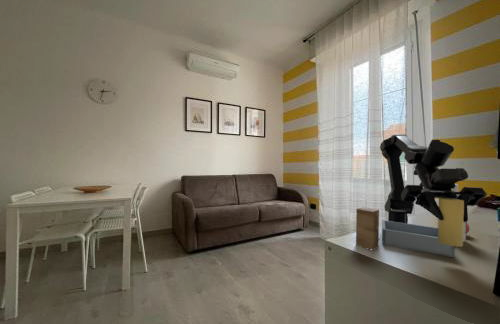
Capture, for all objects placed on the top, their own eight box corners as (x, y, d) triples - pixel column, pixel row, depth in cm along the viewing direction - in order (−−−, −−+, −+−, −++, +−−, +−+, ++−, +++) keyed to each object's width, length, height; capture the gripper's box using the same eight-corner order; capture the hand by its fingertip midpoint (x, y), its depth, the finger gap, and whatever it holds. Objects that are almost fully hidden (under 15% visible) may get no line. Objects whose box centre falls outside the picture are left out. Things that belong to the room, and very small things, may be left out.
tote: (382, 244, 69) (382, 229, 69) (381, 232, 81) (382, 220, 81) (454, 257, 60) (454, 240, 60) (442, 242, 72) (442, 228, 72)
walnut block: (362, 241, 71) (362, 206, 71) (378, 246, 68) (379, 209, 67) (355, 245, 68) (356, 208, 68) (372, 250, 64) (373, 211, 64)
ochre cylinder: (452, 247, 54) (453, 201, 54) (433, 239, 59) (433, 198, 59) (468, 246, 55) (469, 201, 55) (447, 239, 60) (448, 197, 60)
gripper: (405, 158, 63) (425, 200, 53) (482, 159, 59) (520, 206, 48) (394, 181, 71) (409, 223, 60) (461, 184, 66) (490, 229, 55)
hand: (454, 220), depth 56 cm, fingers closed on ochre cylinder, 5 cm apart
